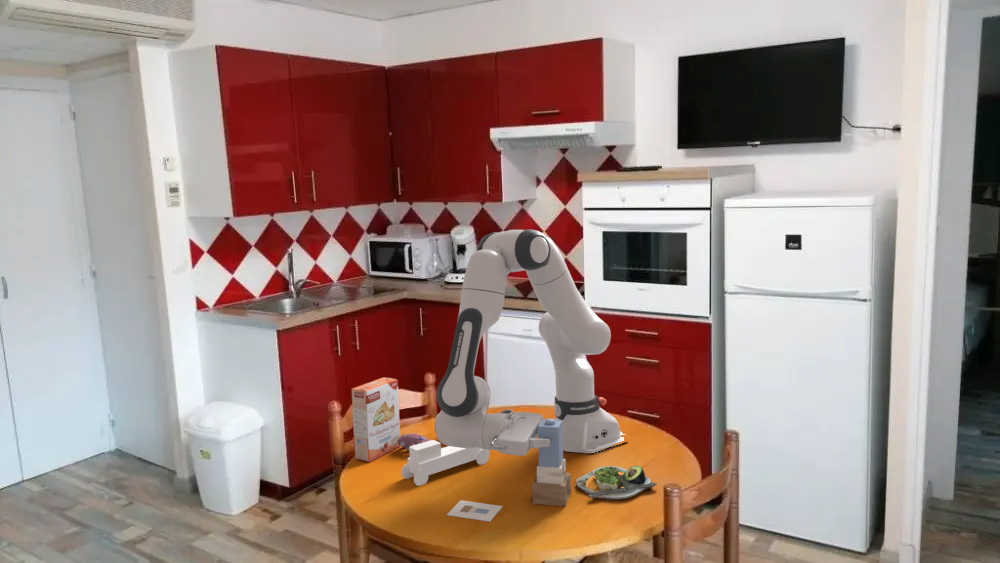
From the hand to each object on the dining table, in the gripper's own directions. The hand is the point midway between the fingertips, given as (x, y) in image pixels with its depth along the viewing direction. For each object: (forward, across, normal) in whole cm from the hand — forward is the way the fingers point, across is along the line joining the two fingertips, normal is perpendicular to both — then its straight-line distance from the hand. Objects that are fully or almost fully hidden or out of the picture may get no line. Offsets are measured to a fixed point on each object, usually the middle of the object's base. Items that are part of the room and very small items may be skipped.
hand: (554, 435), depth 181 cm
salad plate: (+14, +10, +17) cm, 24 cm away
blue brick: (-1, 0, +7) cm, 7 cm away
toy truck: (-32, +12, +16) cm, 38 cm away
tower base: (-1, 0, +16) cm, 16 cm away
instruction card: (-17, -11, +16) cm, 26 cm away
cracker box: (-56, +20, +16) cm, 62 cm away
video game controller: (-46, +23, +16) cm, 54 cm away
